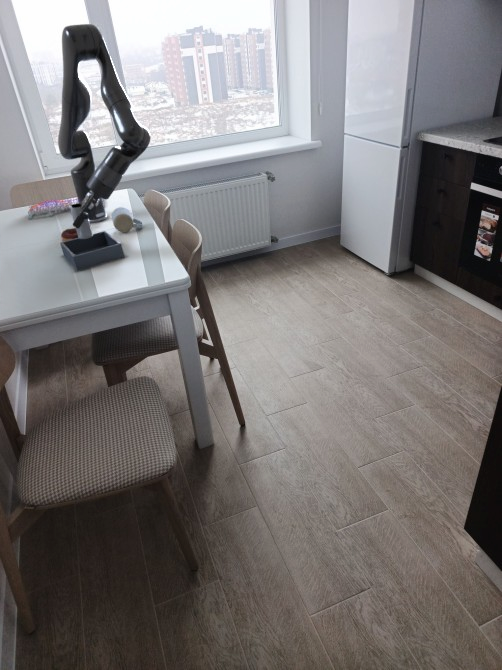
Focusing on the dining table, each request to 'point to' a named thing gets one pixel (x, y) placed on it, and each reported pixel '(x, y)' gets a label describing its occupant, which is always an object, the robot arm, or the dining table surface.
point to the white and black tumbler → (85, 228)
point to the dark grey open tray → (92, 250)
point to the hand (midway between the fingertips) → (75, 223)
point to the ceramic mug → (124, 220)
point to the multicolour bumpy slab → (51, 207)
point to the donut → (69, 234)
